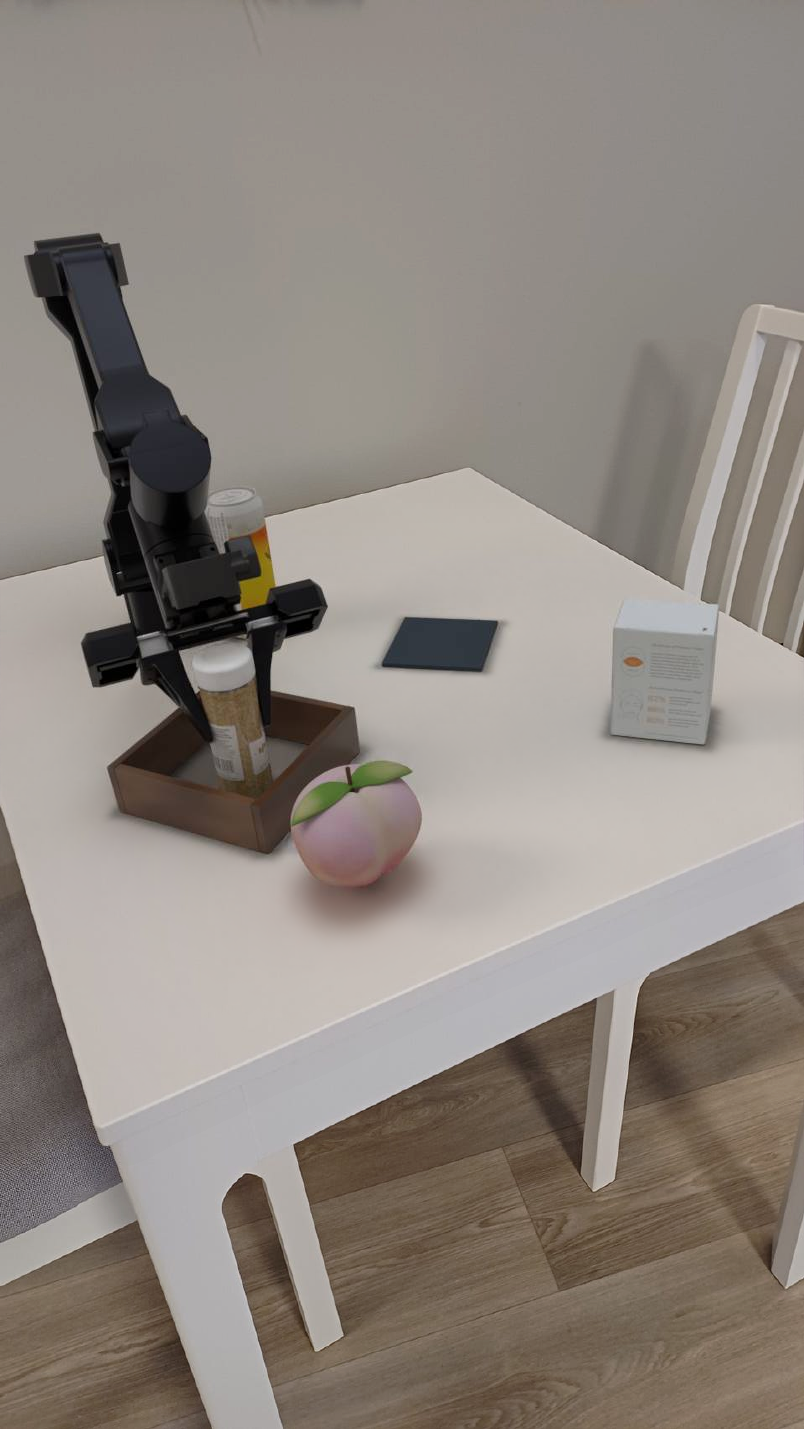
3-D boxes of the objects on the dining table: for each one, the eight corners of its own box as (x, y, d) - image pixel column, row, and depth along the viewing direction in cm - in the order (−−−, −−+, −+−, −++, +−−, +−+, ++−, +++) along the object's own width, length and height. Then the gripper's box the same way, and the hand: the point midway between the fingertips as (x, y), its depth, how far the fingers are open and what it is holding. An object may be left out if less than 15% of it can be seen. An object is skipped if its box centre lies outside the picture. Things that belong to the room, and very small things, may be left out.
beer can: (291, 618, 108) (271, 486, 100) (262, 644, 104) (239, 508, 96) (245, 611, 111) (221, 482, 103) (214, 636, 106) (187, 502, 98)
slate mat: (381, 666, 98) (381, 663, 98) (405, 620, 106) (404, 616, 106) (481, 671, 96) (481, 668, 95) (497, 623, 104) (497, 620, 103)
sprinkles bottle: (286, 800, 80) (262, 656, 73) (235, 822, 79) (205, 676, 71) (261, 773, 84) (235, 633, 76) (212, 794, 82) (180, 652, 75)
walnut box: (119, 811, 81) (106, 766, 79) (222, 720, 92) (213, 678, 89) (268, 854, 75) (259, 807, 73) (360, 750, 86) (355, 707, 83)
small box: (711, 711, 87) (722, 603, 81) (705, 747, 82) (717, 635, 77) (618, 701, 89) (623, 595, 83) (608, 735, 85) (612, 626, 79)
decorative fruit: (373, 823, 77) (360, 715, 72) (445, 872, 72) (436, 759, 66) (274, 882, 72) (252, 770, 67) (343, 939, 67) (325, 823, 61)
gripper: (49, 534, 69) (112, 744, 66) (304, 479, 74) (372, 671, 71) (64, 593, 79) (119, 777, 76) (286, 542, 85) (345, 711, 82)
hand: (239, 734), depth 76 cm, fingers closed on sprinkles bottle, 4 cm apart
